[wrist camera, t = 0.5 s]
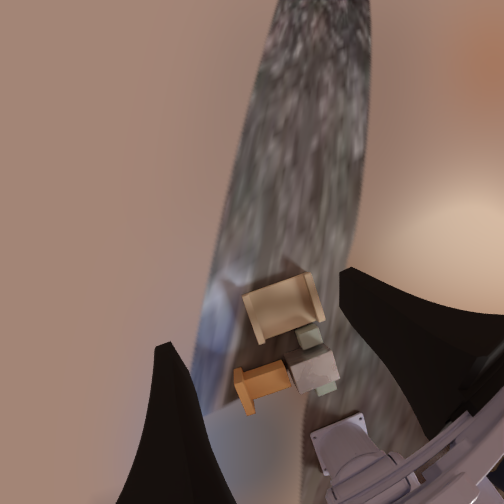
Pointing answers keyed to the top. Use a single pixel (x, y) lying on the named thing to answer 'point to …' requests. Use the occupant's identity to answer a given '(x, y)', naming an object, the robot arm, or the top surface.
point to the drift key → (260, 383)
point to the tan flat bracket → (283, 306)
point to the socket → (310, 338)
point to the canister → (497, 474)
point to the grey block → (311, 367)
